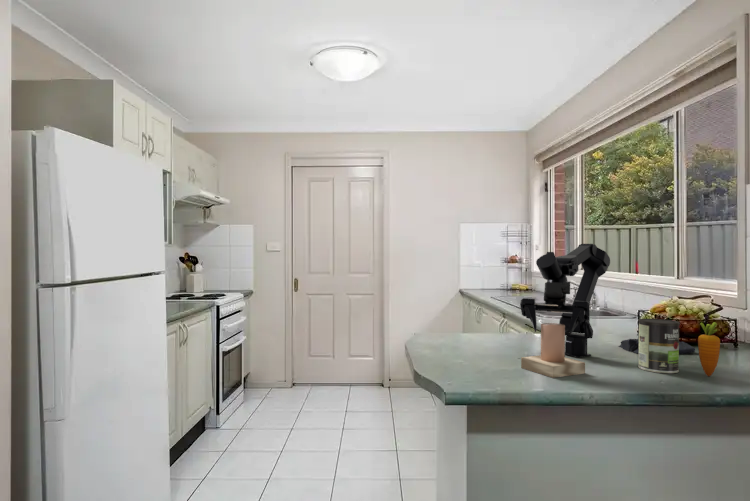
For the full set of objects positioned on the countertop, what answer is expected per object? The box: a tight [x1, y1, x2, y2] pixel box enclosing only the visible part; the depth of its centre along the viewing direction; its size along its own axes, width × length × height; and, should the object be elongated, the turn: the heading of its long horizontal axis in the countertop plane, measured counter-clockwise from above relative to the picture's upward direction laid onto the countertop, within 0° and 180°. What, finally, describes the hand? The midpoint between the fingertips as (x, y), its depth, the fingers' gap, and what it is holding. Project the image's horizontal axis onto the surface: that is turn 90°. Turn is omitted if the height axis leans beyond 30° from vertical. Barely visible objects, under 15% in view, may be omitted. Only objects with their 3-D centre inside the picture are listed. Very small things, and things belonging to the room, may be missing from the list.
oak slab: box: [520, 354, 586, 379], centre depth 137 cm, size 12×12×3 cm
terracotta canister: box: [540, 322, 566, 362], centre depth 137 cm, size 6×6×10 cm
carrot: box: [697, 321, 721, 377], centre depth 132 cm, size 5×5×15 cm
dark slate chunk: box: [617, 338, 696, 355], centre depth 167 cm, size 15×22×5 cm
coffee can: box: [637, 318, 681, 374], centre depth 140 cm, size 10×10×14 cm
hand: (552, 332), depth 135 cm, fingers open, 9 cm apart
